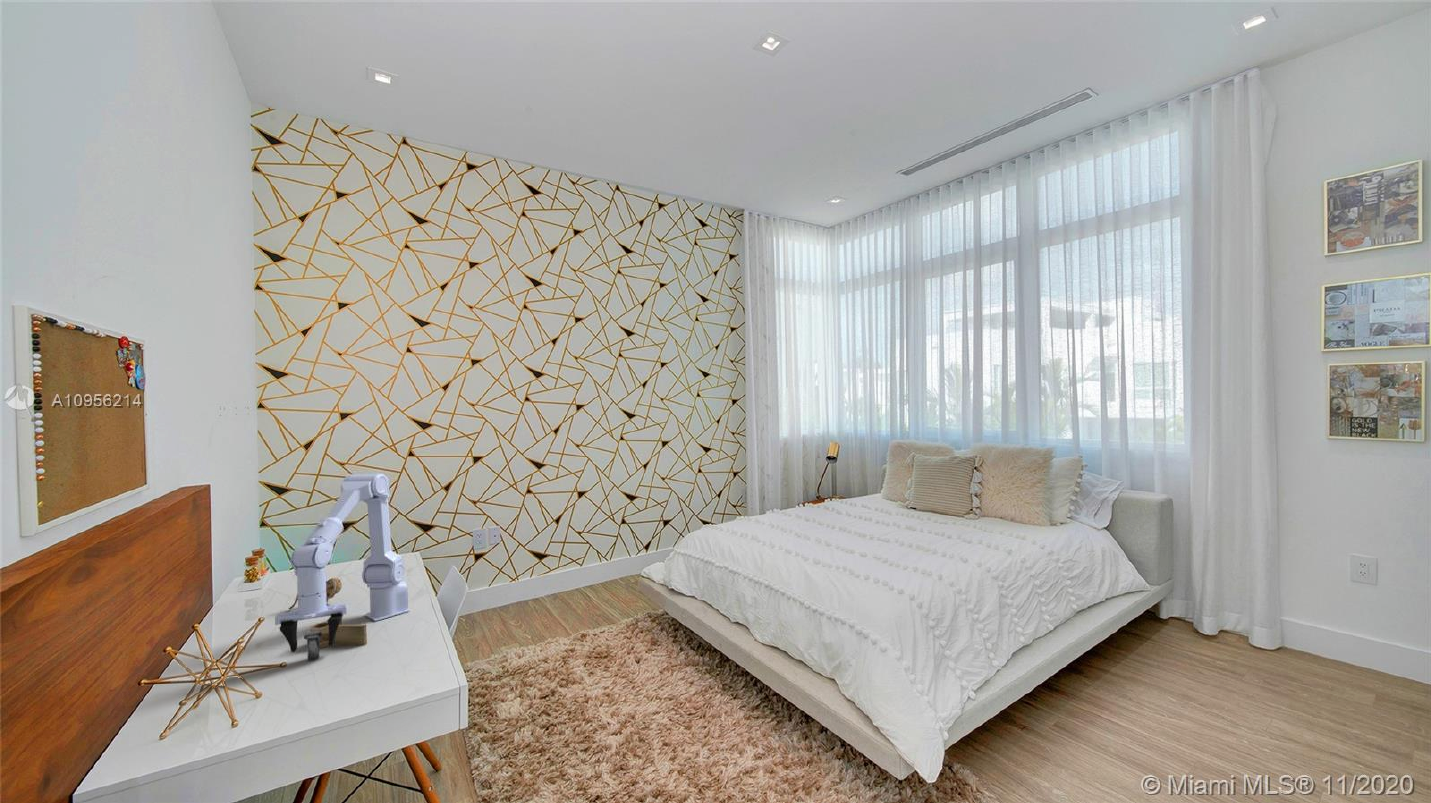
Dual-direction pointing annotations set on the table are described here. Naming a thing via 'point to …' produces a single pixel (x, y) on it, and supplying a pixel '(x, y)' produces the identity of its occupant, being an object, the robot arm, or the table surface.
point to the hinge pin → (313, 644)
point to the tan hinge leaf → (343, 634)
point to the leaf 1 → (326, 636)
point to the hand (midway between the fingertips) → (313, 647)
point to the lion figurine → (328, 589)
